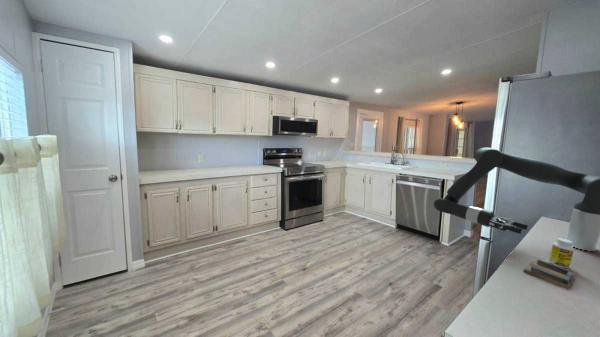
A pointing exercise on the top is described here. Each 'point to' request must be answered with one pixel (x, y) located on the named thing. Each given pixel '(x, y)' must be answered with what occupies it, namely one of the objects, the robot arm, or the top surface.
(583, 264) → the top surface
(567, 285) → the notched cradle board
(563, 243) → the supplement bottle
